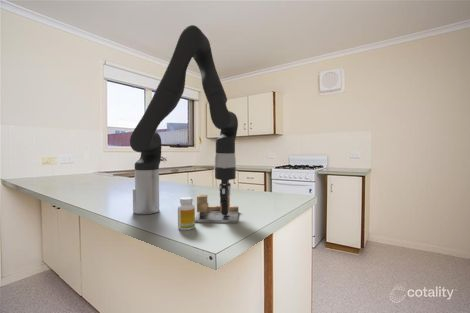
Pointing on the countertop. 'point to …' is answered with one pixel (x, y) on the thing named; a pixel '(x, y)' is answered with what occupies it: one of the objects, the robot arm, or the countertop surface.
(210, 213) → the bolt plate
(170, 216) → the countertop surface
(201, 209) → the gauge rule
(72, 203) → the countertop surface
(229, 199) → the block
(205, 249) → the countertop surface
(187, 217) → the supplement bottle
